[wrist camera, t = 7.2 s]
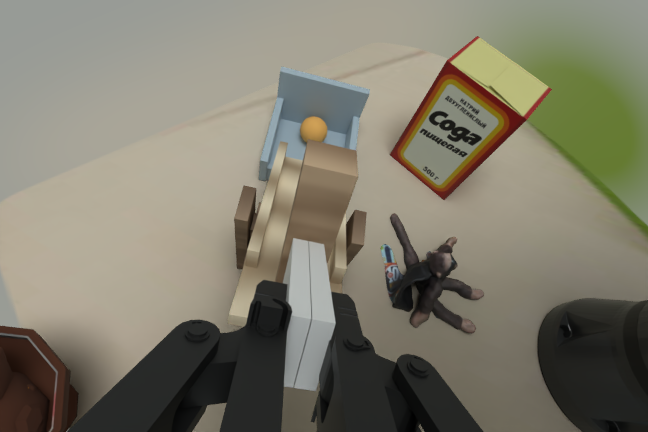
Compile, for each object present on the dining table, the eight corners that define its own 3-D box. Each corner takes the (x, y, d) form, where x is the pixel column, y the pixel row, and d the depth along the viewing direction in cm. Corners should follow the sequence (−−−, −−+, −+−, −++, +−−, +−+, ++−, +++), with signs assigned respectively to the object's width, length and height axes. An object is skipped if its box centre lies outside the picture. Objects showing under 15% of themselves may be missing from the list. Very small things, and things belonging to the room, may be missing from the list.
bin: (343, 198, 44) (362, 160, 37) (258, 179, 42) (261, 137, 35) (351, 133, 49) (369, 89, 42) (276, 114, 47) (281, 66, 40)
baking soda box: (389, 154, 48) (449, 57, 34) (415, 131, 51) (479, 32, 37) (444, 200, 47) (529, 117, 33) (467, 173, 50) (554, 86, 36)
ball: (318, 144, 47) (324, 117, 46) (328, 149, 44) (334, 121, 43) (293, 139, 46) (299, 112, 45) (302, 144, 43) (308, 115, 42)
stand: (322, 349, 35) (356, 329, 25) (220, 331, 34) (209, 303, 23) (335, 248, 40) (367, 197, 30) (247, 230, 39) (248, 170, 29)
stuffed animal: (461, 361, 36) (410, 282, 32) (390, 336, 44) (342, 270, 40) (503, 278, 42) (465, 200, 37) (433, 268, 50) (395, 203, 45)
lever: (337, 342, 22) (409, 192, 15) (227, 323, 22) (247, 155, 14) (339, 177, 38) (374, 64, 31) (275, 162, 37) (296, 43, 30)
